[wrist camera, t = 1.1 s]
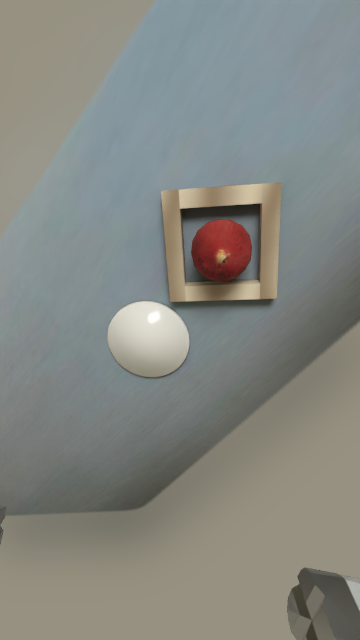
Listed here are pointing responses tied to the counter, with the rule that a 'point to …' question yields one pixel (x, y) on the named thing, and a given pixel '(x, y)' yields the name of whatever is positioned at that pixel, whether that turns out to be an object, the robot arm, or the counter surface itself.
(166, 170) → the counter surface
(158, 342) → the white domed disc
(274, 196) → the frame
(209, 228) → the onion
